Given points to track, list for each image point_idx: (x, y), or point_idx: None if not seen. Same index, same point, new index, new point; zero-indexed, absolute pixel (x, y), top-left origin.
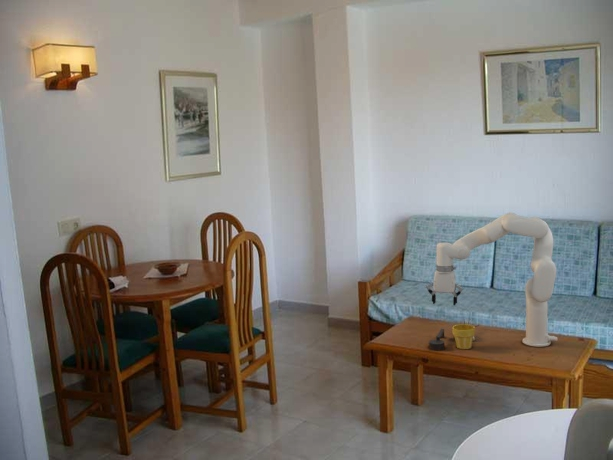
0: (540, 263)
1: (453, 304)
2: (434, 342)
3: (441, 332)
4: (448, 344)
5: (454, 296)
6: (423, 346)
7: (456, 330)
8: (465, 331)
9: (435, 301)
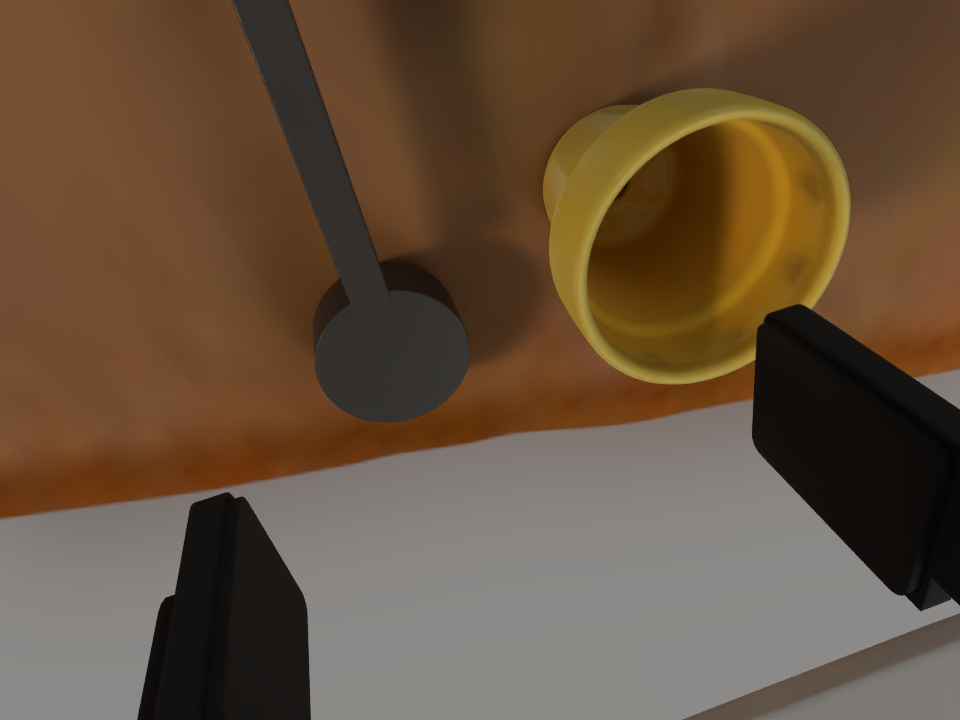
0: None
1: (765, 456)
2: (383, 386)
3: (312, 109)
4: (439, 173)
5: (955, 584)
6: (250, 354)
7: (647, 380)
8: (746, 358)
9: (249, 531)
